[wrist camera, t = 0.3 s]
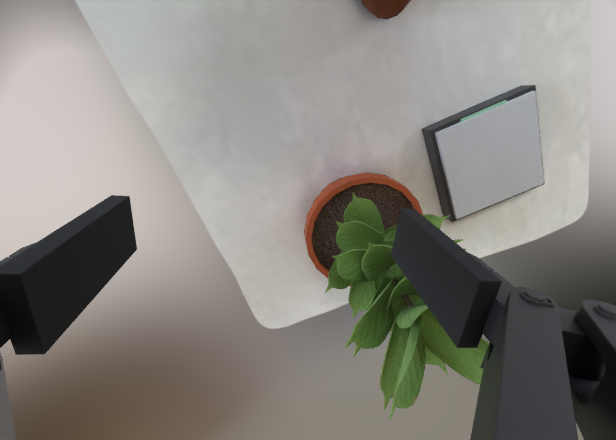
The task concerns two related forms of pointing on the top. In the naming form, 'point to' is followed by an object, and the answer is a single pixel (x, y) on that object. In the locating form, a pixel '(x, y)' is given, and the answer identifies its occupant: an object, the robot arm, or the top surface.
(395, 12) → the potato
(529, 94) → the scale
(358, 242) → the potted plant
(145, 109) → the top surface
